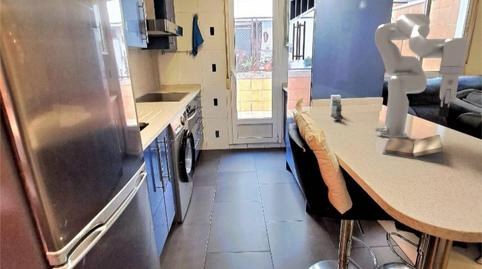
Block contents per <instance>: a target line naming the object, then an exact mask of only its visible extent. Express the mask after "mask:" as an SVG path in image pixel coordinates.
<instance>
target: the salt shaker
mask: <svg viewBox="0 0 482 269" xmlns="http://www.w3.org/2000/svg"><path fill="white" fill-rule="evenodd" d="M342 111H343V110H342V104H341V103H339V104H338V105H337V109H336V115H334V117H333V118H334V120H333V122H334V123H343V121H342V119H344V118H343V117H344V115H342Z"/></svg>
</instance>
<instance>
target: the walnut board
mask: <svg viewBox="0 0 482 269" xmlns="http://www.w3.org/2000/svg"><path fill="white" fill-rule="evenodd" d="M388 140H389V142H388V144H387V147H386V150H385V153H390V154H397V155H403V156H410V157H412V152H413V143H414V140H412V139H407V138H403V139H398V138H388Z"/></svg>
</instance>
